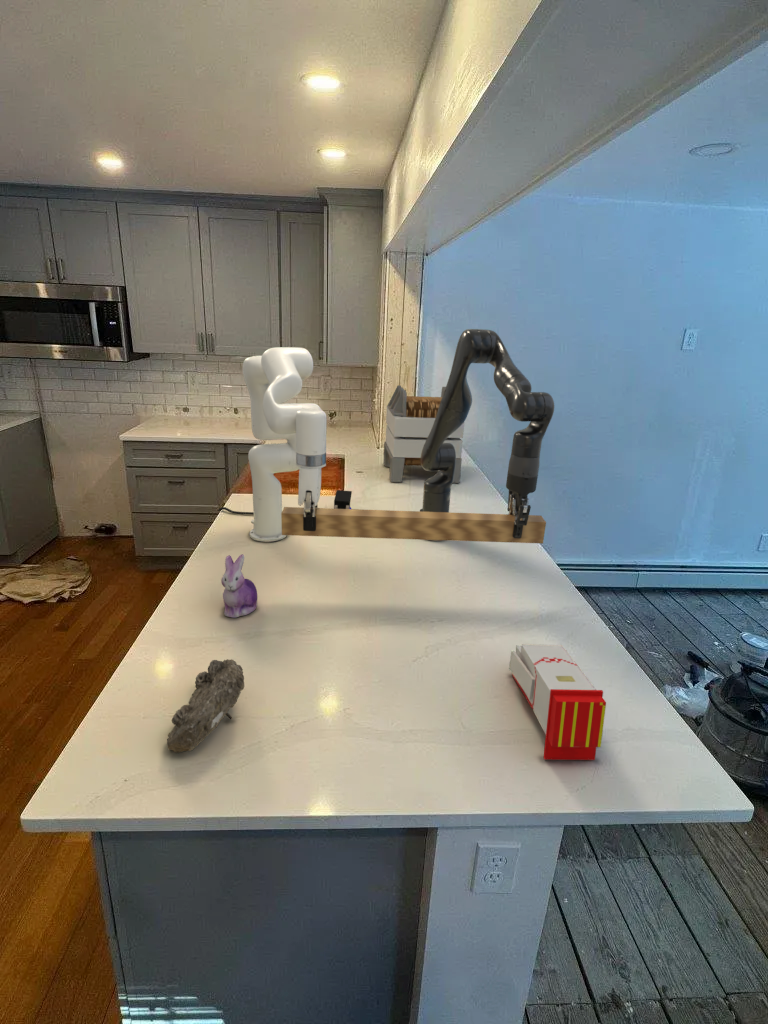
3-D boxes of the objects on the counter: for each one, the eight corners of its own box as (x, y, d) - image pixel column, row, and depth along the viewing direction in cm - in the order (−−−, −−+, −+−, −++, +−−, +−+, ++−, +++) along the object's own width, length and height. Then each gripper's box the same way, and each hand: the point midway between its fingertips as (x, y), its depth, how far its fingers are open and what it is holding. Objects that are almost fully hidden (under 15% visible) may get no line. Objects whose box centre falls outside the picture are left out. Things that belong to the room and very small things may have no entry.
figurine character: (350, 524, 210) (352, 506, 224) (350, 505, 207) (352, 488, 220) (332, 523, 210) (335, 505, 224) (332, 505, 207) (335, 488, 220)
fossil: (192, 660, 117) (244, 628, 112) (224, 691, 120) (276, 661, 115) (142, 746, 98) (202, 712, 93) (182, 779, 101) (242, 748, 96)
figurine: (226, 622, 140) (223, 567, 134) (217, 603, 148) (214, 551, 143) (264, 615, 144) (262, 561, 139) (253, 597, 152) (251, 545, 147)
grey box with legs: (382, 463, 289) (386, 382, 275) (445, 464, 293) (451, 384, 279) (390, 482, 257) (394, 392, 243) (460, 483, 261) (468, 394, 247)
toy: (558, 627, 126) (616, 698, 97) (552, 682, 129) (607, 767, 99) (504, 626, 126) (545, 697, 96) (499, 681, 128) (538, 766, 99)
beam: (538, 536, 152) (541, 515, 150) (543, 543, 148) (546, 522, 146) (284, 528, 151) (284, 506, 149) (281, 535, 146) (281, 513, 144)
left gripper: (300, 450, 150) (300, 514, 156) (291, 467, 134) (291, 538, 140) (328, 451, 150) (327, 515, 156) (322, 469, 134) (322, 540, 140)
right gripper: (502, 463, 150) (494, 523, 156) (514, 479, 137) (506, 544, 143) (530, 464, 150) (521, 524, 156) (545, 480, 137) (535, 545, 143)
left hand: (310, 525), depth 148 cm, fingers closed on beam, 4 cm apart
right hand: (514, 533), depth 149 cm, fingers closed on beam, 5 cm apart
